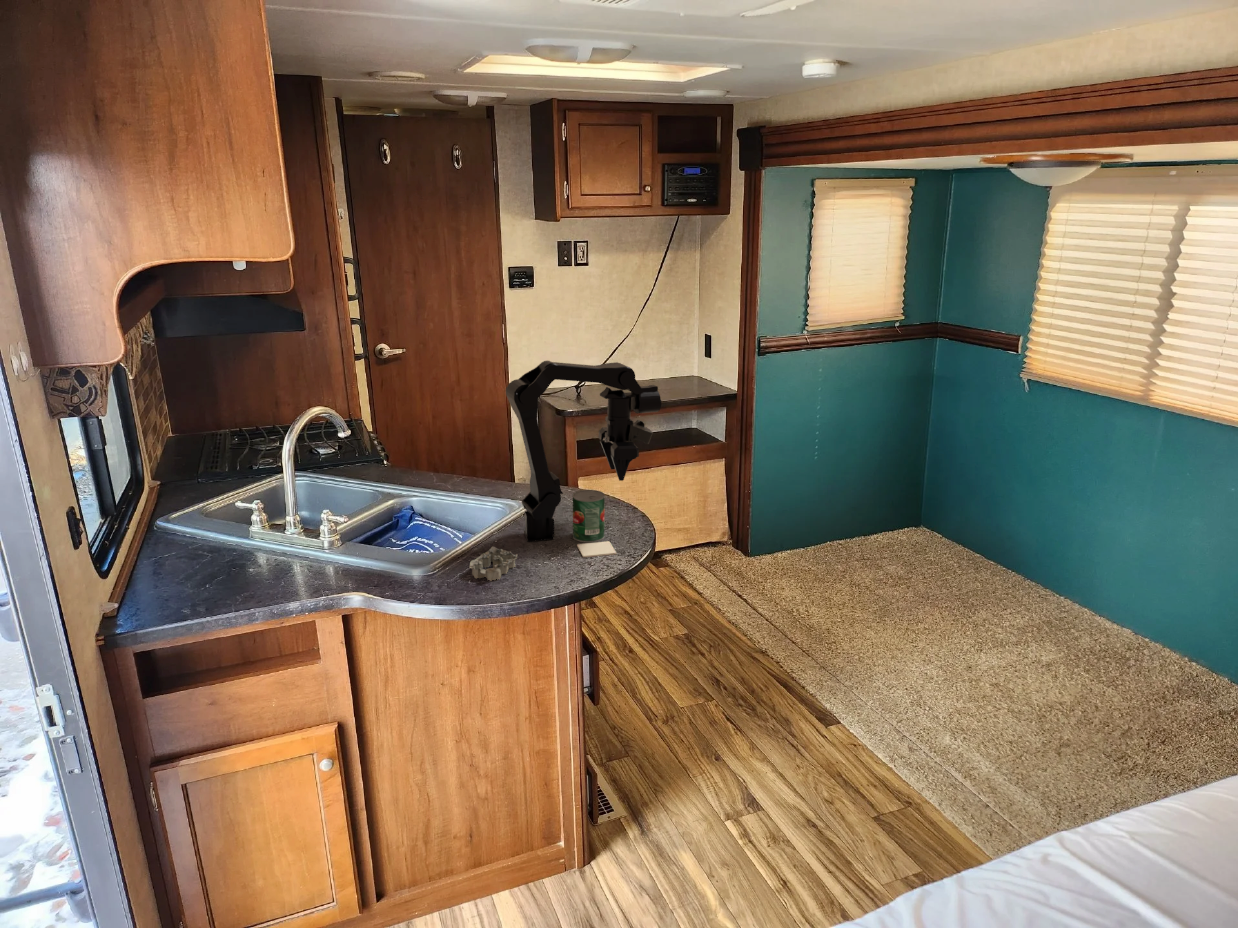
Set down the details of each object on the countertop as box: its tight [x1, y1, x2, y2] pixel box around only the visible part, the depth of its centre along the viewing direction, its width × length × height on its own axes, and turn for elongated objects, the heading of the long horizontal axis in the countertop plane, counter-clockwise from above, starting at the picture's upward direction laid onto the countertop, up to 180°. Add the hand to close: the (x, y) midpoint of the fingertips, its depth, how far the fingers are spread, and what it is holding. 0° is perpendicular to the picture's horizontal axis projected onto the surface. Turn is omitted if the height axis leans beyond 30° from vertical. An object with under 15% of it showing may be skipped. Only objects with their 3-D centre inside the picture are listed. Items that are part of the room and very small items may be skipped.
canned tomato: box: [572, 489, 606, 544], centre depth 204 cm, size 8×8×11 cm
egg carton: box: [469, 546, 518, 582], centre depth 186 cm, size 11×8×4 cm
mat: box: [576, 540, 617, 558], centre depth 198 cm, size 8×7×1 cm
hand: (617, 474), depth 210 cm, fingers open, 9 cm apart
